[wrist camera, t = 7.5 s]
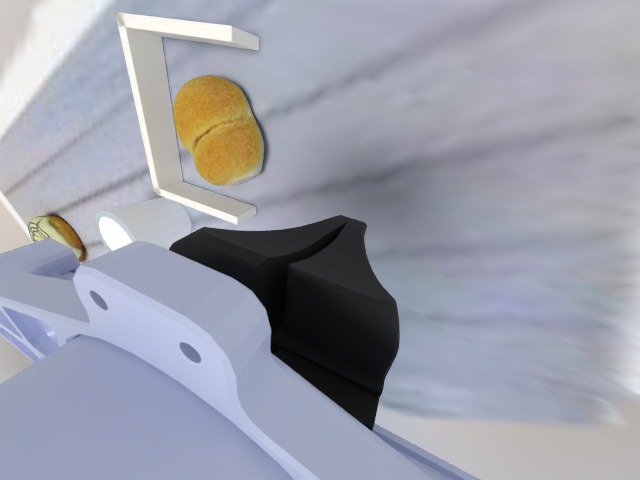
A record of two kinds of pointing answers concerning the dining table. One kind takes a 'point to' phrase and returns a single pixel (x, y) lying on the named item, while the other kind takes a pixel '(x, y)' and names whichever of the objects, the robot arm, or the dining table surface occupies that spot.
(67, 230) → the decorated donut
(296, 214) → the dining table surface
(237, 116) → the bread roll
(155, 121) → the tray
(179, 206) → the white short cylinder
